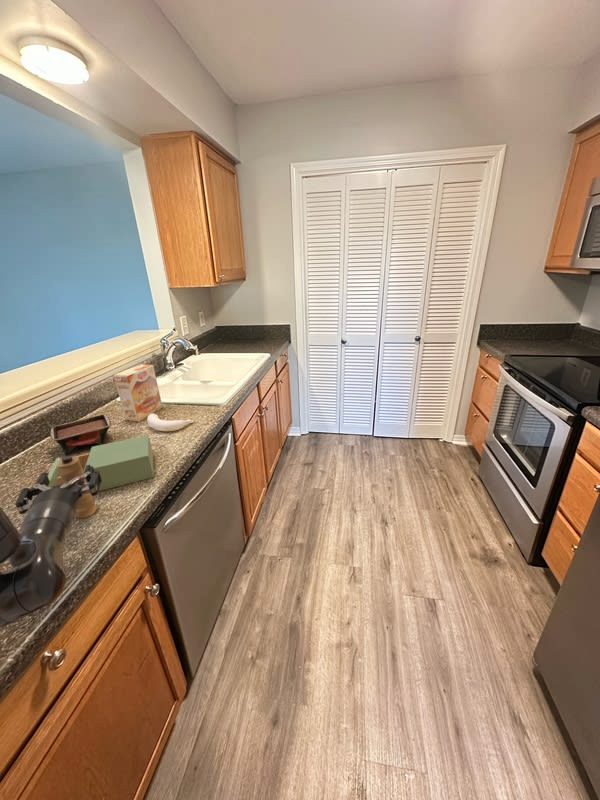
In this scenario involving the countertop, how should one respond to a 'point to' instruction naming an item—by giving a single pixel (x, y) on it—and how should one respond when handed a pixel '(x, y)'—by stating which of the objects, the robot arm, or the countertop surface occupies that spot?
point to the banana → (166, 423)
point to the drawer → (54, 472)
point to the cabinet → (122, 461)
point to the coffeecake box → (138, 392)
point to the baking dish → (81, 432)
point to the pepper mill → (70, 470)
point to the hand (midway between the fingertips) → (68, 473)
